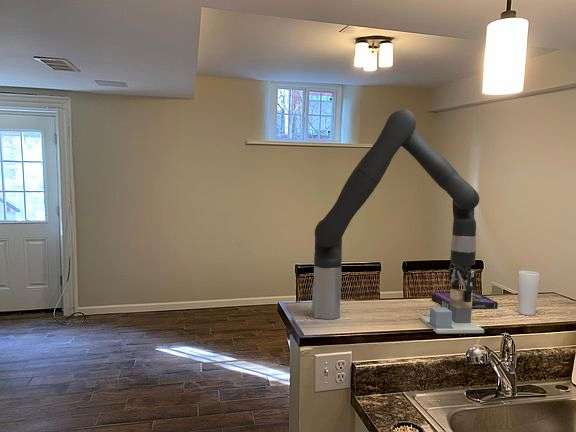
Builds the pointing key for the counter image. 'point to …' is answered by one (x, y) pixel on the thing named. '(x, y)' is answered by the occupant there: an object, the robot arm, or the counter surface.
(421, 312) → the counter surface
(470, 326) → the build plate
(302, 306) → the counter surface
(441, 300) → the box
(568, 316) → the counter surface
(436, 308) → the slate block
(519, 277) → the drinking glass
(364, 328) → the counter surface
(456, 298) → the maple block
